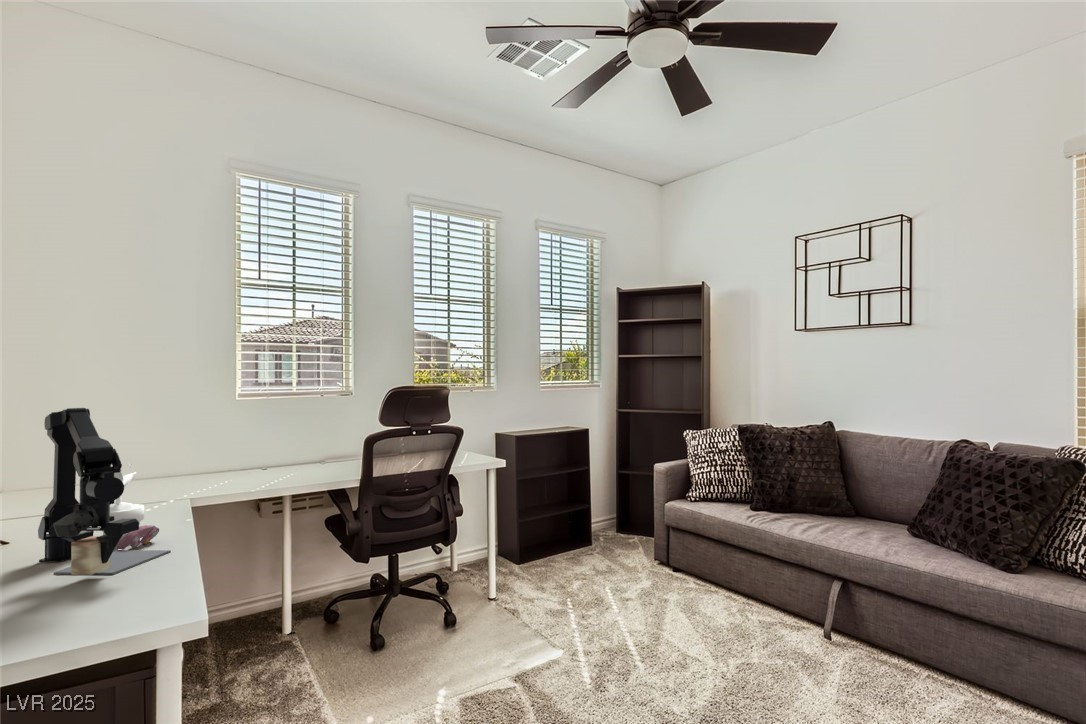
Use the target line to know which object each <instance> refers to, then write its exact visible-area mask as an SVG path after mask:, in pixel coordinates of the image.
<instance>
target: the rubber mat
mask: <svg viewBox="0 0 1086 724" xmlns="http://www.w3.org/2000/svg"><path fill="white" fill-rule="evenodd" d="M169 553H171V549H170V550H169V549H167V550H165V549H163V550H161V549H160V550H156V549H155V550H154V549H153V550H151V549H150V550H148V549H147V550H145V549H143V550H142V549H141V550H140V549H139V550H138V549H137V550H136V549H135V550H134V549H133V550H131V549H128V550H126V549H123V550H117V549H116V550H114V551H113V552H112V554H111V556H110V568H107V569H105V570H102V571H99V572H97V573H94V574H91V575H90V576H92V575H93V576H101V575H102V576H103V575H104V576H105V575H106V576H114V575H117V574H118V573H121V571H122V572H124V571H127V570H129V569H131V568H134V567H137V566H139V565H142V564H144V563H147V562H149V561H152V560H154V559H156V558H159V557H162V556H164V555H167V554H169ZM126 569H127V570H126ZM116 573H117V574H116ZM53 575H71V566H68V567H66V568H62V569H59V570H57V571H53Z"/></svg>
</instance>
